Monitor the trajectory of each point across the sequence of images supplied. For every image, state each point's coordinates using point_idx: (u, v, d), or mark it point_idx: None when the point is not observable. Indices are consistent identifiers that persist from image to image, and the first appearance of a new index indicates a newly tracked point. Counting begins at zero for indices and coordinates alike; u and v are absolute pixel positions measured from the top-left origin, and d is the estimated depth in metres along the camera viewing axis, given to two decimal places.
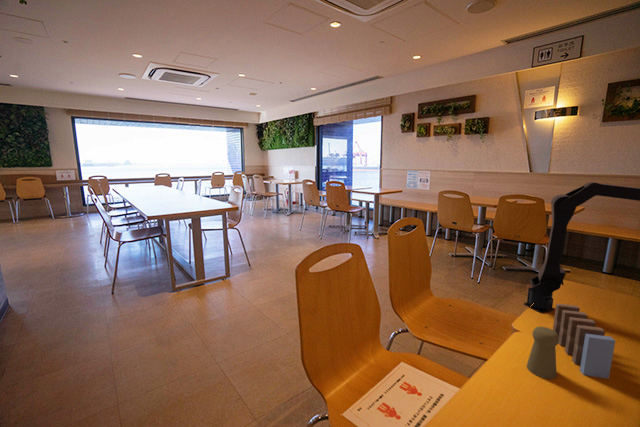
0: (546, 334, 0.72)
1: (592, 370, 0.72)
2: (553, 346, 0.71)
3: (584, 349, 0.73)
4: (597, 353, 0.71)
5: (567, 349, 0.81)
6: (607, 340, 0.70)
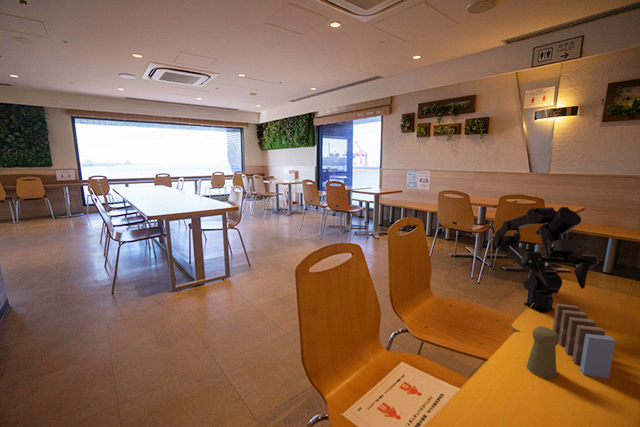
0: (546, 334, 0.72)
1: (592, 370, 0.72)
2: (553, 346, 0.71)
3: (584, 349, 0.73)
4: (597, 353, 0.71)
5: (567, 349, 0.81)
6: (607, 340, 0.70)
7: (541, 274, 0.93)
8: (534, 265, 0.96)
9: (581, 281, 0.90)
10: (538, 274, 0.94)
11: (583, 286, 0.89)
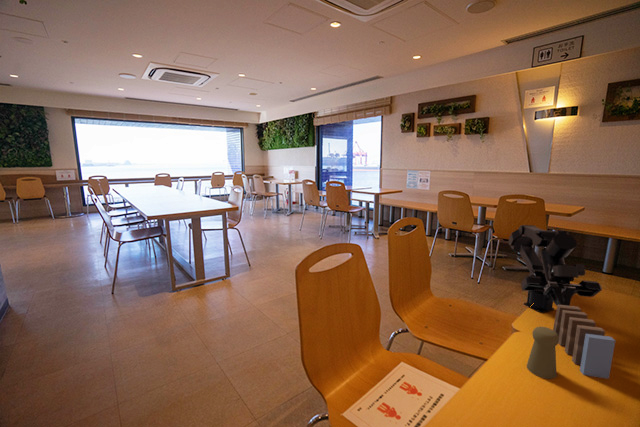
0: (546, 334, 0.72)
1: (592, 370, 0.72)
2: (553, 346, 0.71)
3: (584, 349, 0.73)
4: (597, 353, 0.71)
5: (567, 349, 0.81)
6: (607, 340, 0.70)
7: (558, 302, 0.89)
8: (551, 292, 0.92)
9: None
10: (555, 301, 0.91)
11: None
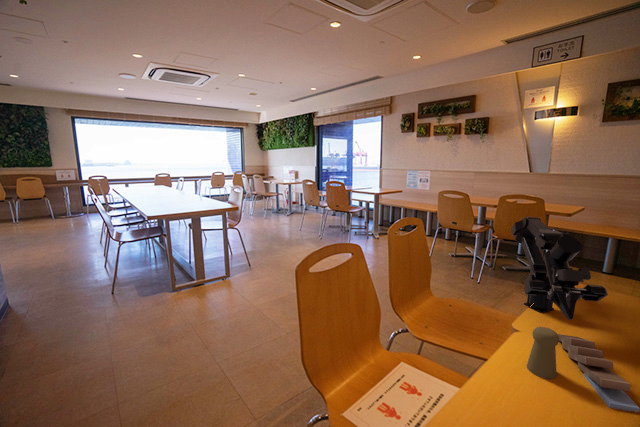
0: (546, 334, 0.72)
1: None
2: (553, 346, 0.71)
3: (598, 392, 0.67)
4: None
5: (570, 356, 0.78)
6: None
7: (563, 307, 0.86)
8: (555, 296, 0.89)
9: (569, 312, 0.85)
10: (559, 306, 0.88)
11: (571, 317, 0.85)
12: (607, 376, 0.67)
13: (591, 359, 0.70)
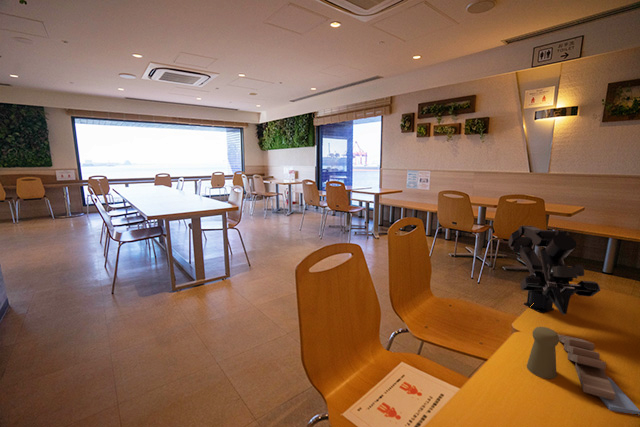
0: (546, 334, 0.72)
1: None
2: (553, 346, 0.71)
3: None
4: None
5: (568, 357, 0.78)
6: None
7: (557, 302, 0.90)
8: (550, 292, 0.92)
9: (563, 307, 0.89)
10: (554, 301, 0.91)
11: (565, 312, 0.88)
12: (595, 382, 0.67)
13: (583, 358, 0.70)
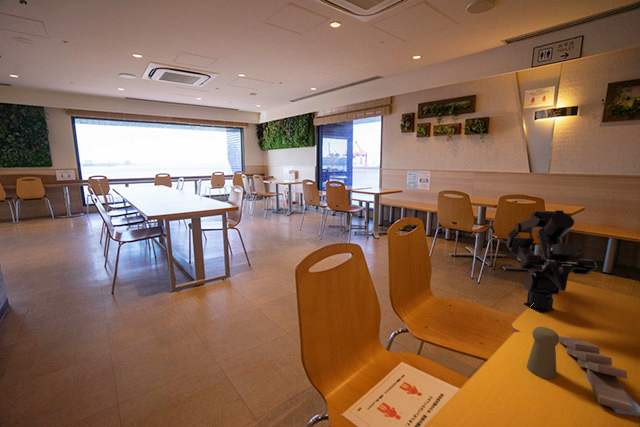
0: (546, 334, 0.72)
1: None
2: (553, 346, 0.71)
3: None
4: None
5: (580, 364, 0.75)
6: None
7: (556, 279, 0.92)
8: (549, 270, 0.94)
9: (562, 283, 0.91)
10: (553, 279, 0.93)
11: (564, 288, 0.90)
12: (610, 392, 0.64)
13: (603, 366, 0.67)
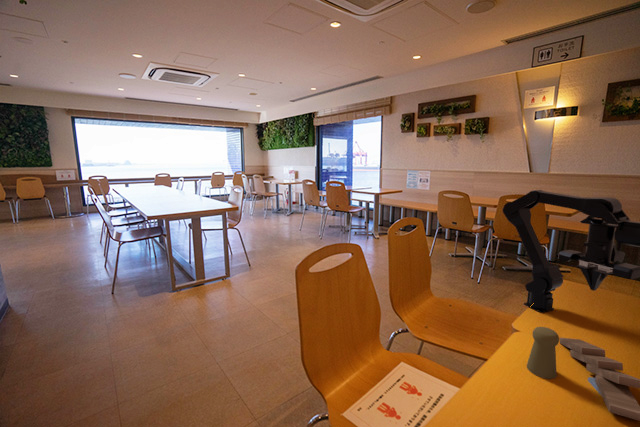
0: (546, 334, 0.72)
1: None
2: (553, 346, 0.71)
3: None
4: None
5: (590, 370, 0.73)
6: None
7: (601, 281, 0.90)
8: None
9: None
10: (598, 280, 0.89)
11: None
12: (621, 400, 0.62)
13: (624, 378, 0.64)
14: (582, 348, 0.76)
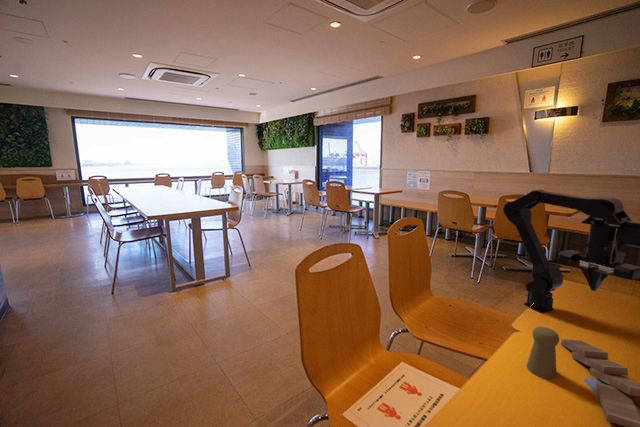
0: (546, 334, 0.72)
1: None
2: (553, 346, 0.71)
3: None
4: None
5: (594, 375, 0.71)
6: None
7: (601, 281, 0.90)
8: None
9: None
10: (599, 280, 0.89)
11: None
12: (620, 409, 0.60)
13: (635, 389, 0.62)
14: (585, 351, 0.75)
